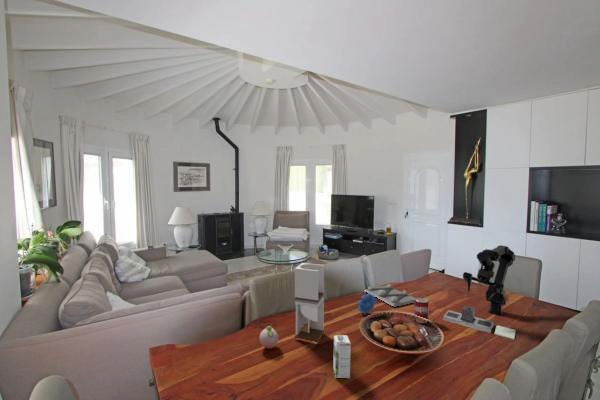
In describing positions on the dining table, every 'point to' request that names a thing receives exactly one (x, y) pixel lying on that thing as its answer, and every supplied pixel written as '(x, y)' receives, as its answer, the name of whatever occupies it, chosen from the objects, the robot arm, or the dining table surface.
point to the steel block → (468, 314)
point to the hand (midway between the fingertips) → (478, 295)
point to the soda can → (421, 307)
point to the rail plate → (478, 322)
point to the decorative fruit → (268, 337)
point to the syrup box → (341, 356)
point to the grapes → (366, 303)
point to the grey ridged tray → (391, 295)
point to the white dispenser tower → (309, 301)
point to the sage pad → (505, 332)
